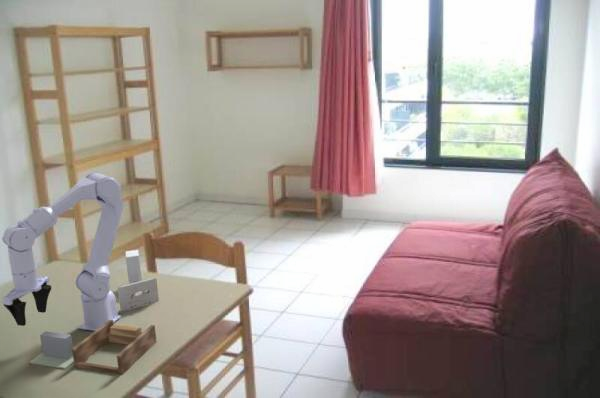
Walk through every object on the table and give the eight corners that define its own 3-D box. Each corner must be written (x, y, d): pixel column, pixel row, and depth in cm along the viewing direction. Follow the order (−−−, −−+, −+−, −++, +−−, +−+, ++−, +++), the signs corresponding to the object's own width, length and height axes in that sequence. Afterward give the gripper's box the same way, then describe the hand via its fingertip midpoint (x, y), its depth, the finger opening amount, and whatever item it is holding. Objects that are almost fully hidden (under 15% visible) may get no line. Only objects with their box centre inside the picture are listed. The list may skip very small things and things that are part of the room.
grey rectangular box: (48, 351, 154) (45, 331, 152) (74, 355, 152) (70, 334, 150) (43, 355, 152) (39, 335, 151) (69, 359, 150) (65, 338, 148)
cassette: (157, 299, 184) (155, 276, 182) (159, 301, 183) (157, 278, 181) (119, 309, 178) (116, 286, 176) (121, 312, 176) (118, 288, 174)
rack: (112, 336, 162) (109, 319, 161) (156, 342, 158) (154, 325, 156) (74, 366, 147) (71, 349, 146) (122, 374, 143) (120, 356, 142)
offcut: (114, 337, 161) (112, 323, 160) (143, 341, 159) (141, 326, 158) (109, 342, 159) (107, 327, 158) (138, 346, 156) (136, 330, 155)
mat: (53, 345, 158) (53, 344, 158) (88, 350, 155) (88, 349, 154) (29, 363, 150) (29, 362, 149) (65, 369, 146) (65, 367, 146)
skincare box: (129, 284, 196) (125, 251, 193) (142, 282, 197) (138, 249, 194) (129, 291, 190) (125, 257, 187) (143, 289, 192) (139, 255, 188)
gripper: (15, 283, 144) (24, 332, 147) (55, 261, 157) (62, 307, 161) (-8, 280, 146) (1, 329, 149) (34, 259, 159) (41, 305, 163)
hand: (32, 318), depth 155 cm, fingers open, 7 cm apart
